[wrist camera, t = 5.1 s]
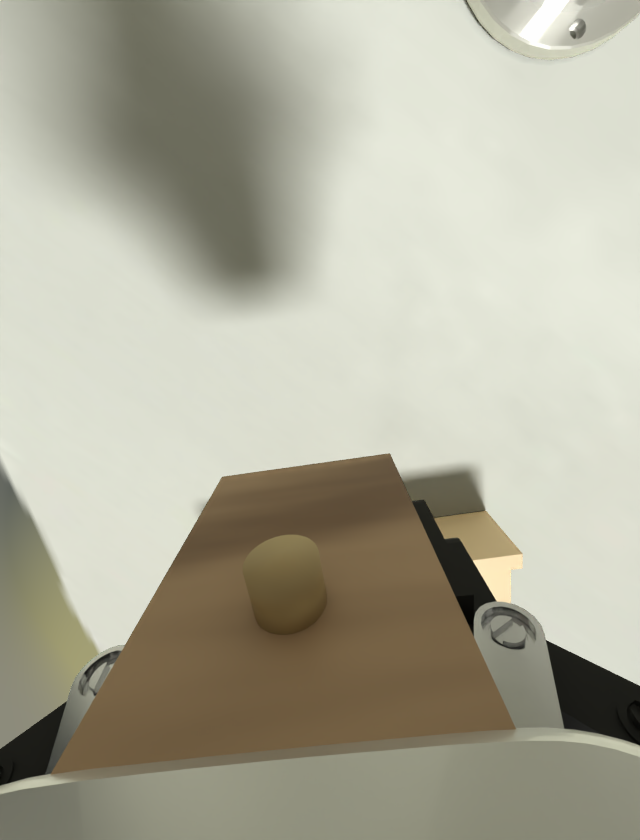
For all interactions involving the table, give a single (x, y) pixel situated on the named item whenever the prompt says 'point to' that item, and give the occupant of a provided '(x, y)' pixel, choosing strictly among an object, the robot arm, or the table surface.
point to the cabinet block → (293, 629)
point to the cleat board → (485, 549)
